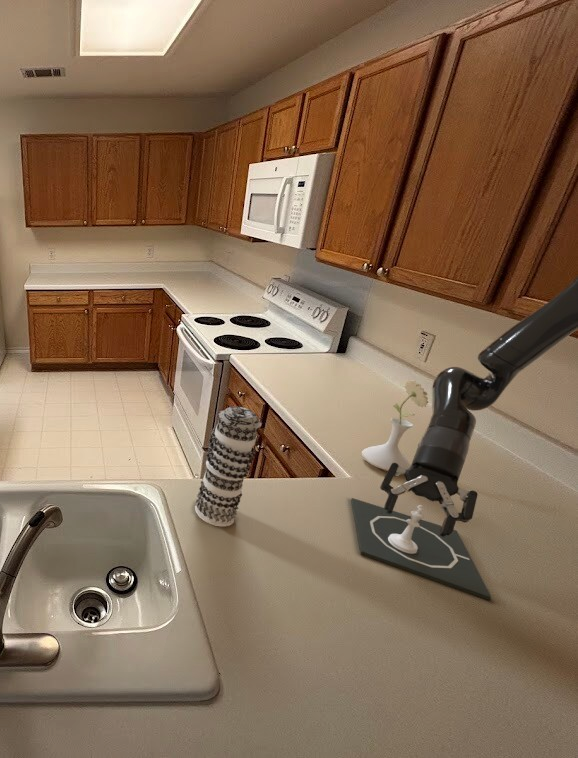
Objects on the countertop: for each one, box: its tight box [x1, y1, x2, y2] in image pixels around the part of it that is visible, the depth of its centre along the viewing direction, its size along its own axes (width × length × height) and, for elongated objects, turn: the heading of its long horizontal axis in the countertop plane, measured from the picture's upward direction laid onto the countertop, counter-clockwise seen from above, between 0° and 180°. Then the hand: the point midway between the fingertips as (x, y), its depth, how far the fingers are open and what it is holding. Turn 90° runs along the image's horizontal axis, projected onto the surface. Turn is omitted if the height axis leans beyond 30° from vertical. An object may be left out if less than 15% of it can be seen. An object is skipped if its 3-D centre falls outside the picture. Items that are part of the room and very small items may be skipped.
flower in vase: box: [361, 379, 429, 472], centre depth 112 cm, size 13×11×25 cm
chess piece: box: [388, 504, 425, 554], centre depth 83 cm, size 5×5×10 cm
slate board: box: [350, 497, 492, 601], centre depth 86 cm, size 20×20×1 cm
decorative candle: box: [194, 406, 263, 528], centre depth 86 cm, size 9×9×25 cm
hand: (415, 523), depth 81 cm, fingers open, 8 cm apart
